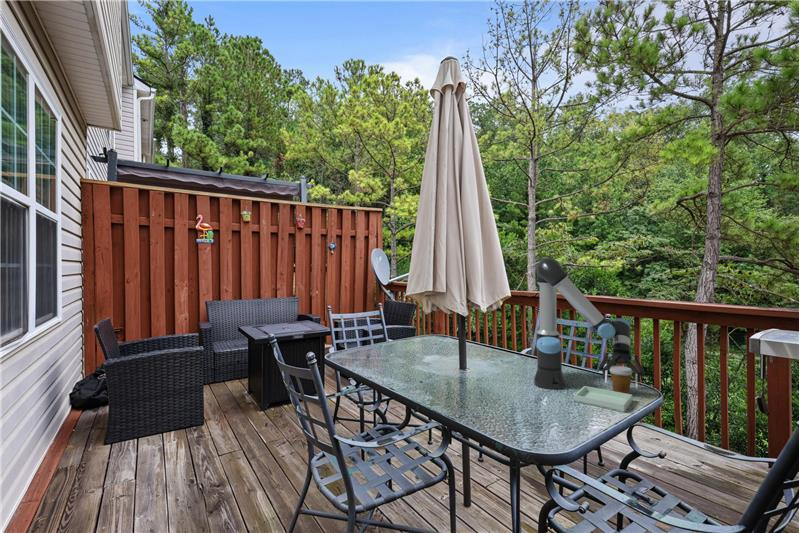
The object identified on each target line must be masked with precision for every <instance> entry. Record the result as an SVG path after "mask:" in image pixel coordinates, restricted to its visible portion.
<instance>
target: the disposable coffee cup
mask: <svg viewBox="0 0 800 533" xmlns="http://www.w3.org/2000/svg"><path fill="white" fill-rule="evenodd" d="M609 372H610V377H611V382H612V384H611V385H612V389H613V390H612V391H615V392H621V393H626V394H630V389H631V380H632V375H633V373H634V372H633V370H632V369H631V368H630V367H629V366H625V365H624V366H622V365H613V366H612V367H611V368H610V369H609Z"/></svg>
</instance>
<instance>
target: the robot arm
mask: <svg viewBox="0 0 800 533" xmlns="http://www.w3.org/2000/svg"><path fill="white" fill-rule="evenodd" d="M535 267H536V269H535V271H536V283H537V285H538V286H539V328H538V330H537V331H536V342H535V348H536V360H537V361H536V362H537V363H536V364H537V365H536V366H537V369H536V373H535V375H534V378H533V385H534V386H537V387H539V388H542V389H546V390H547V389H548V390H560V389H565V388H566V387H567V385H566V384H567V381H566V378H565V375H564V373H563V366H562V364H563V363H562V360H563V359H562V347H563V346H562V341H561V340H560V332H559V331H557V291H558V292H559V293H560V294H561V295H562V297H563V298H565V300H566V301H568V303H569V304H570V306H572V307H573V308H574V309H575V310H576V311H577V313H578V314H579V315H580V316H581V317H582V318H583V319H584V320H585V321H586V322H587V330H588V331H590V332H593V333H597V334H598V336H599V337H600V338H602V339H605V340H611V339H612V353H608V352H605V356H604V358H603V360H602V361H601V362H600V364H599V366H598V371H599V372H602V378H603V379H604V386H608V371H610V368H611V367H612V366H615V365H616V364H622V365H627V367H628V368H631V370H632V372H633V373H634V374H635V377H634V378H635V390H638V383H641V377H645V376H646V374H645V370H644V368H643V366H642V364H641V363H640V360H639V357H638V355H637V354H635V355H634V356H633V355H631V324H630V321H629V320H628V319H626V318H622V317H621V318H619V317H617V318H615V319H613V320H609V319H606V317H604V315H602V313H601V311H599V309H597V308H596V306H594V305H593V303H592V302H591V301H589V299H588V298H587V297H586V296H585V295H584V294H583V292H581V291H580V289H579V288H578V287H577V286H576V285H575V284H574V283H573V281H571V279H569V274H567V272H566V271H565V269H564V268H563V266H562V265H561V264H560V262H559V261H558V260H557V259H554V258H552V257H544V258H542V259H540V260H539V261H538V263H536V266H535ZM610 358H612V359H611V360H610V361H609V359H610ZM631 360H632V361H633V362H635V365H636V366H635V365H634V364H633V362H632V361H631ZM608 361H609V362H608Z"/></svg>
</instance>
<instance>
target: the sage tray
mask: <svg viewBox="0 0 800 533" xmlns="http://www.w3.org/2000/svg"><path fill="white" fill-rule="evenodd" d="M573 402H574V403H579V404H582V405H589V406H590V407H591V406H593V407H596V408H601V409H606V410H609V411H610V410H611V411H615V412H621V413H625V412H626V411H627V409H628V408H629V407H630V405H631V404H632V402H633V394H631V393H629V394H626V393H621V392H615V391H613V390H609V389H603V388H598V387H593V386H586V385H584V386H582V387H581V388H580V389H579V390H578V391H577V392H575V393H574V394H573Z"/></svg>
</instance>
